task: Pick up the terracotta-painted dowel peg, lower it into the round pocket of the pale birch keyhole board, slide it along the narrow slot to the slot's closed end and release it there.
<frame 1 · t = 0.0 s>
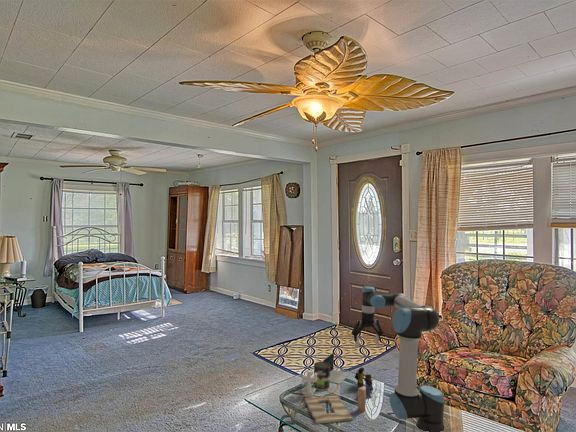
hand: (366, 345, 235), 28 cm above the table, fingers open, 13 cm apart
doll family: (364, 391, 236), on the table
peg: (361, 410, 213), on the table
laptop: (336, 377, 254), on the table
keyhole board: (327, 410, 212), on the table
coffee can: (321, 387, 239), on the table
figurine: (308, 395, 228), on the table
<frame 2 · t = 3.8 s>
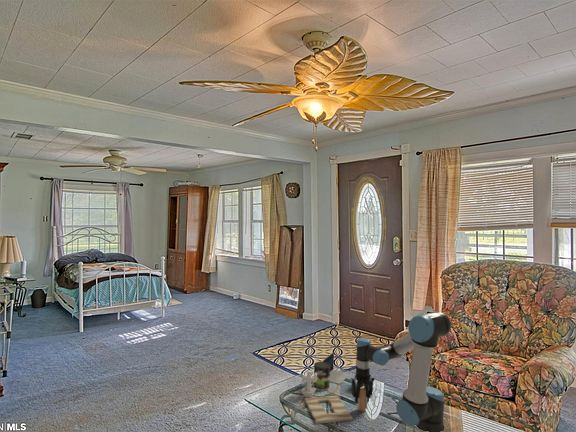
hand: (361, 408, 213), 1 cm above the table, fingers closed on peg, 4 cm apart
peg: (361, 410, 213), on the table, touching gripper
everything else where it was.
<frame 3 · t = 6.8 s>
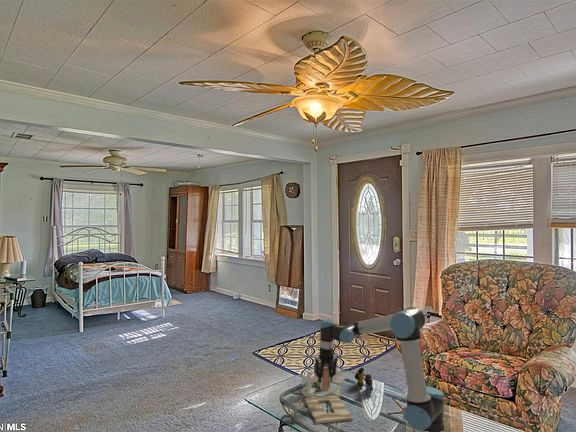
hand: (324, 387, 217), 10 cm above the table, fingers closed on peg, 4 cm apart
peg: (324, 389, 217), point 9 cm above the table, touching gripper
everything else where it was.
when the fingers open (2 cm above the table, at t = 9.9 s): peg drops 1 cm, resting in keyhole board.
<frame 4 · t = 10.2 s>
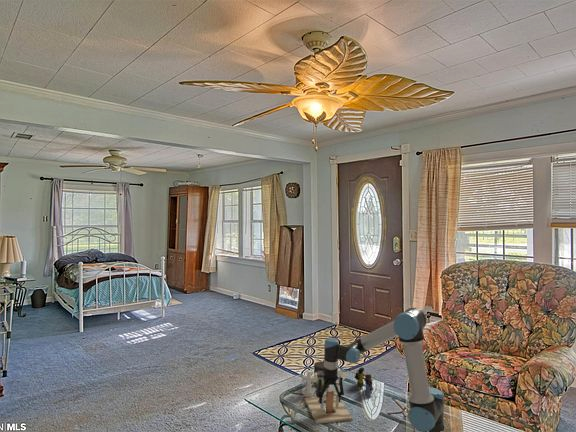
hand: (329, 408, 209), 3 cm above the table, fingers open, 8 cm apart
peg: (329, 413, 209), resting in keyhole board
everything else where it was.
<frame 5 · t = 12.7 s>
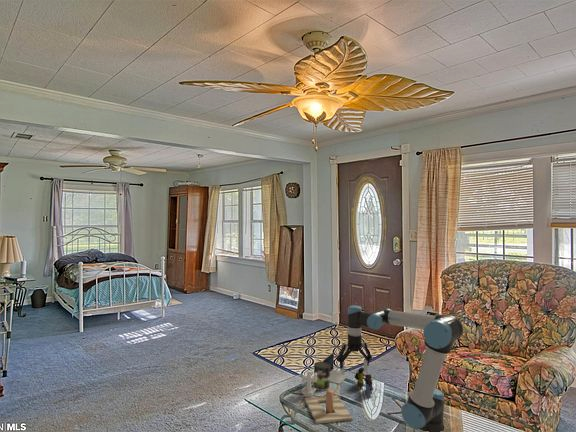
hand: (354, 372, 209), 22 cm above the table, fingers open, 13 cm apart
nothing on the table moved.
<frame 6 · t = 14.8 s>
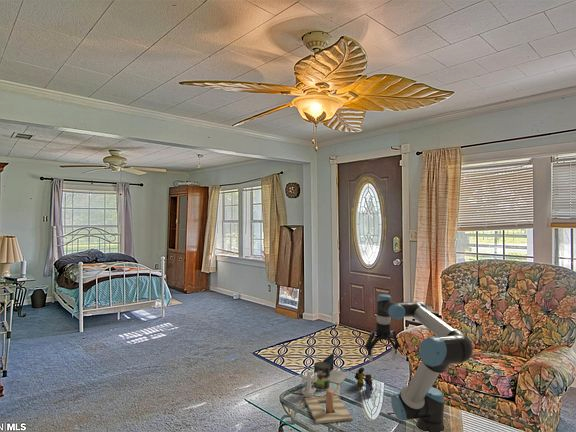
hand: (382, 360, 211), 29 cm above the table, fingers open, 13 cm apart
nothing on the table moved.
at the end: peg 0.1 cm from the target spot on the keyhole board, point 0.0 cm above the keyhole board's base; peg tilted 0°; the gripper is holding nothing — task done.
